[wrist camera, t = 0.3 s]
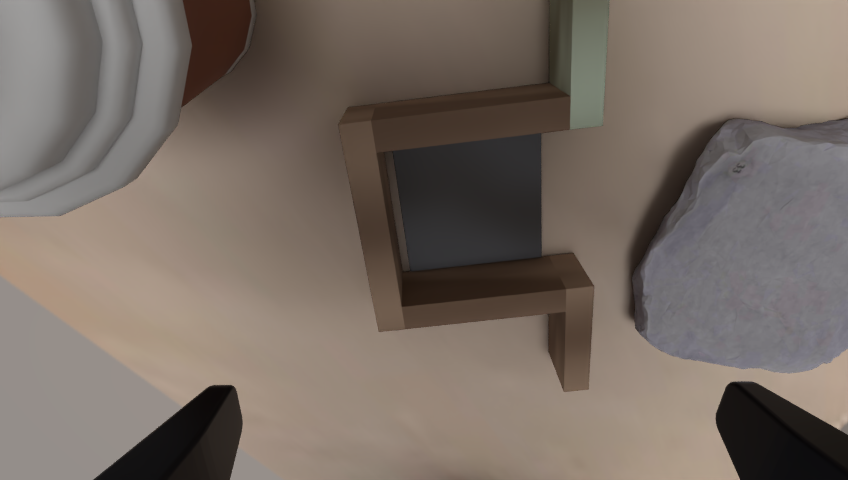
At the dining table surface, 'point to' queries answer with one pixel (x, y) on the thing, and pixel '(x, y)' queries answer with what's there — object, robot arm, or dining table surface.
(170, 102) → the coffee cup
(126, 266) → the dining table surface
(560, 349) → the channel
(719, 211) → the stone block
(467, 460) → the dining table surface
